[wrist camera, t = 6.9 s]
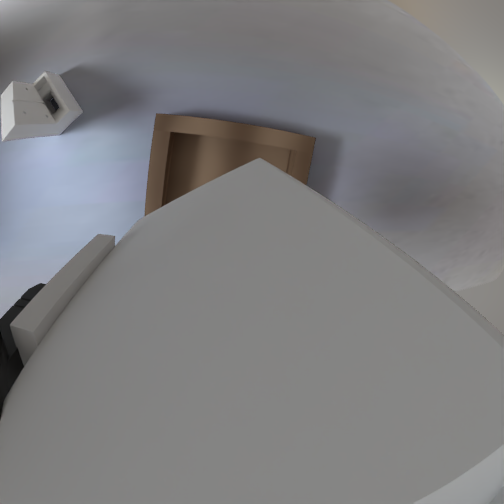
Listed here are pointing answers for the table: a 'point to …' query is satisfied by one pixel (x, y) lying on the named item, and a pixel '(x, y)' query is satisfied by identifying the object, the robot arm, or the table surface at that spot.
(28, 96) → the white angled block
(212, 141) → the square wooden tray
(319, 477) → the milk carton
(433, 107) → the table surface
